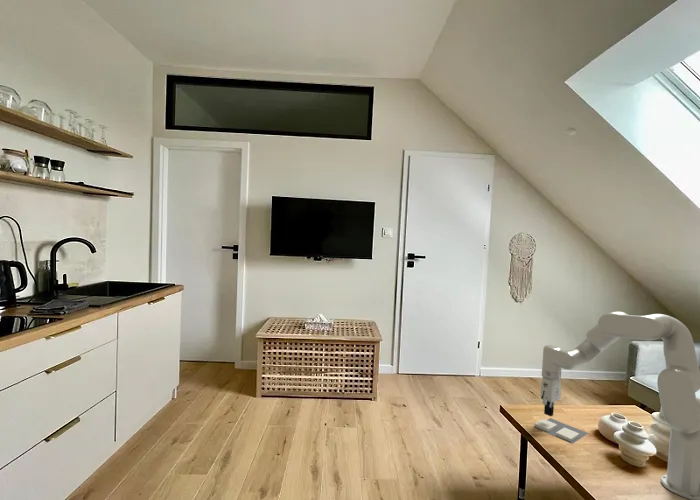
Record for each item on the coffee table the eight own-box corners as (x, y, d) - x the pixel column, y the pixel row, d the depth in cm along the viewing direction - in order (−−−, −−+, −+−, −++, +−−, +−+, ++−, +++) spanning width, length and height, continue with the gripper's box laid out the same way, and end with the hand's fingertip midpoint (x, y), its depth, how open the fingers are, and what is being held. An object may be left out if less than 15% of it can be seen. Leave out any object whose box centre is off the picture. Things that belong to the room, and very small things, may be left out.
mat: (588, 434, 162) (588, 433, 162) (572, 445, 152) (572, 443, 152) (550, 419, 175) (550, 418, 175) (533, 428, 165) (533, 427, 165)
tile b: (557, 424, 166) (548, 429, 161) (557, 427, 166) (548, 432, 161) (543, 418, 171) (534, 423, 166) (543, 421, 171) (534, 426, 166)
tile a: (579, 433, 159) (571, 438, 154) (579, 436, 159) (570, 441, 154) (564, 427, 163) (556, 432, 159) (564, 430, 163) (555, 435, 159)
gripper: (552, 380, 159) (549, 422, 159) (567, 373, 168) (565, 414, 168) (534, 374, 165) (531, 415, 165) (550, 368, 174) (547, 407, 174)
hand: (548, 414), depth 167 cm, fingers closed
